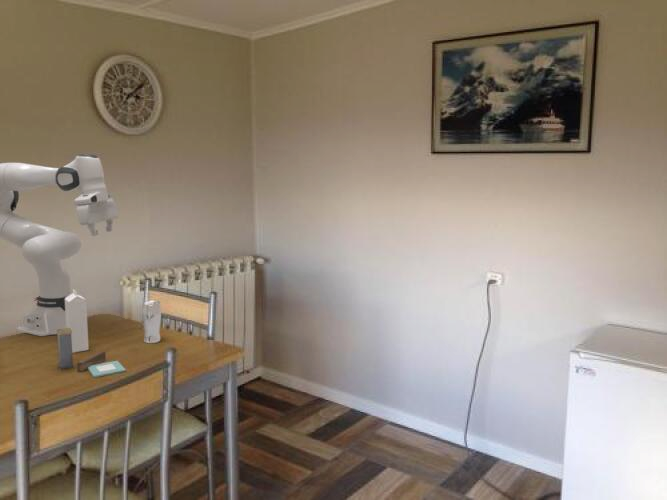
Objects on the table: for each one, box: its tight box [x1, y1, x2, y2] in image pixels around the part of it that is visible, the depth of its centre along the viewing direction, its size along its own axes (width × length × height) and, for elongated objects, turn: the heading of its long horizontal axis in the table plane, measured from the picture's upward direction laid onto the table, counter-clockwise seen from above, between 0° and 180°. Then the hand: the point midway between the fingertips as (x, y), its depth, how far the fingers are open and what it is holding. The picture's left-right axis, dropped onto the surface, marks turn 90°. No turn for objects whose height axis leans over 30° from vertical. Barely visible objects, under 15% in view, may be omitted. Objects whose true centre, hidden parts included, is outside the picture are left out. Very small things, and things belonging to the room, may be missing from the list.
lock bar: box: [56, 328, 74, 370], centre depth 193 cm, size 4×4×13 cm
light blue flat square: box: [87, 360, 127, 378], centre depth 193 cm, size 10×10×1 cm
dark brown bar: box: [76, 350, 107, 373], centre depth 196 cm, size 2×12×3 cm, turn 165°
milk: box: [65, 288, 89, 354], centre depth 210 cm, size 6×6×22 cm
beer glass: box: [141, 300, 162, 344], centre depth 222 cm, size 7×7×15 cm
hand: (102, 233), depth 220 cm, fingers open, 8 cm apart
